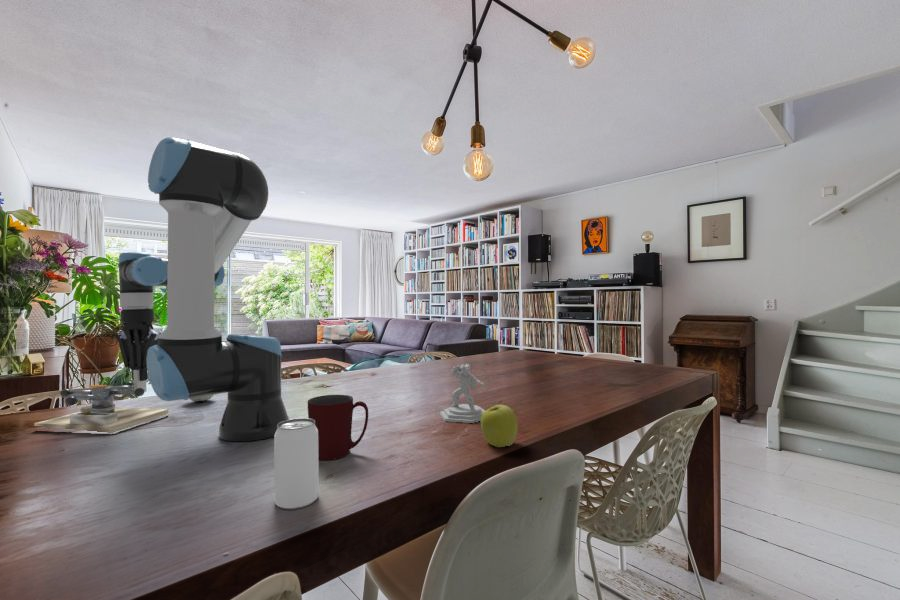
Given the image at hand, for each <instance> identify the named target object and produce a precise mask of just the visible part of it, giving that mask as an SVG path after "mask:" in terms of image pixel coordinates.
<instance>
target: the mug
mask: <svg viewBox="0 0 900 600" xmlns="http://www.w3.org/2000/svg"><path fill="white" fill-rule="evenodd" d="M357 407H362V408H363V409H364V411H365V418H364V425H363V429H362V431H361V433H360V435H359V437H358V438H357V439H356V440H355V441H354V440H352V430H353V429H352V428H353V412H354V409H355V408H357ZM307 415H308V416H307V417H308V419H313V420H315V426H316V428H317V430H318V460H320V461H333V460H337V459H341V458H344V457H346V456H348V455H349V454H350V451H351V449H353V448H355V447H357V446H358V444H359V443H360V442H361V441H362V439H363V437H364V435H365V433H366V430H367V429H368V424H369V423H368V421H369V408H368V406H367V404H366V403H365V402H364V401H361V400H359V401H356V402H355V403H354V398H353V396H350V395H347V394H346V395H345V394H327V395H320V396H315V397H311V398H310V399H308V400H307Z"/></svg>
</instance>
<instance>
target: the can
mask: <svg viewBox="0 0 900 600" xmlns="http://www.w3.org/2000/svg"><path fill="white" fill-rule="evenodd" d="M277 427H278V428H277V431H276V433H275V435H274V436H273V437H274V438H273V462H274V463H273V465H274V466H273V473H274V474H273V477H274V478H273V480H274V485H273V487H274V489H273V490H274V504H275V505H276V506H277V507H278V508H279V509H282V510H298V509H299V510H300V509H303V508H306V507H309V506H310V505H312V504H313V503H315V502H316V501H317V499H318V498H319V493H320V491H319V481H320V480H319V476H320V475H319V469H320V467H319V466H320V465H319V460H318V430H317V428H316V426H315V420H313V419H308V418H306V417H304V418H303V417H300V418H292V419H291V418H289V420H286V421H283V422H280V423H279V424H277Z"/></svg>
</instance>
